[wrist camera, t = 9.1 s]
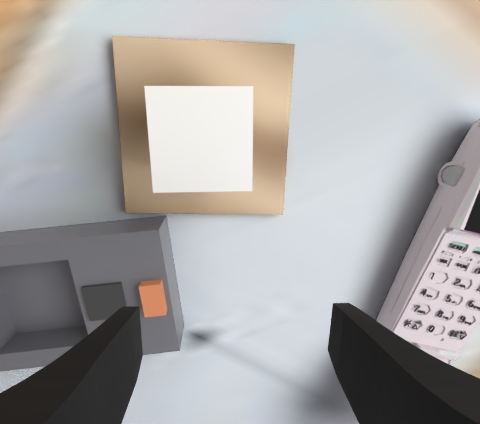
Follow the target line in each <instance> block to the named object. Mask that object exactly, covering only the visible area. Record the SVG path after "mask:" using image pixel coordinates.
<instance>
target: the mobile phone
mask: <svg viewBox="0 0 480 424" xmlns="http://www.w3.org/2000/svg"><path fill="white" fill-rule="evenodd" d="M437 178H438V182H439V186H438V188H437V190H436V192H435V194H434V196H433V198H432V200H431V202H430V205H429V207H428V209H427V211H426V213H425V215H424V217H423V219H422V221H421V223H420V225H419V227H418V230H417V232H416V234H415V236H414V238H413V240H412V242H411V244H410V246H409V248H408V250H407V252H406V255H405V257H404V259H403V261H402V263H401V266H400V268H399V270H398V272H397V275H396V277H395V279H394V281H393V283H392V286H391V288H390V290H389V292H388V295H387V297H386V299H385V301H384V304H383V306H382V308H381V310H380V312H379V315H378V317H377V319H376V321H377V322H379V323H380V324H382V325H383V326H385V327H386V328H388V329H389V330H391V331H392V332H394V333H395V334H397V335H398V336H400V337H401V338H403V339H405V340H406V341H408V342H409V343H411V344H413V345H415V346H416V347H418V348H420V349H421V350H423V351H425V352H426V353H428V354H430V355H432V356H434V357H436V358H438V359H439V360H441V361H443V362H445V363H447V364H449V365H451V360H453V361H456V360H457V359H458V358H459V357H460V356H459V353H460V351H461V350H462V348H463V346H464V345H465V343H466V342H467V340H468V338H469V337H470V335H471V334H472V332H473V330H474V329H475V327H476V326H477V324H478V322H479V321H480V120H478V121H476V122H475V123H474V124H473V125H472V127H471V128H470V130H469V132H468V133H467V135H466V137H465V138H464V140H463V142H462V143H461V145H460V147H459V149H458V150H457V152H456V154H455V156H454V157H453V159H452V161H451V162H448V163H445V164H444V165H443V166H442V167H441V169H440V171H439V174H438V177H437ZM448 360H449V363H448Z"/></svg>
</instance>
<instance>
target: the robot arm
mask: <svg viewBox="0 0 480 424" xmlns="http://www.w3.org/2000/svg"><path fill="white" fill-rule="evenodd" d="M328 351H329V354H330V358H331V361H332V364H333V367H334V370H335V373H336V375H337V378H338V380H339V382H340V384H341V386H342V388H343V390H344V393H345V395H346V397H347V399H348V401H349V403H350V405H351V407H352V409H353V411H354V414H355V416H356V418H357V420H358V422H359V424H480V379H479V378H477V377H475V376H472V375H470V374H468V373H466V372H464V371H461V370H459V369H457V368H455V367H453V366H451V365H449V364H447V363H445V362H443V361H441V360H439V359H438V358H436V357H434V356H432V355H430V354H428V353H426V352H425V351H423V350H421V349H420V348H418V347H416V346H415V345H413V344H411V343H409V342H408V341H406V340H405V339H403V338H401V337H400V336H398V335H397V334H395V333H394V332H392V331H391V330H389V329H388V328H386V327H385V326H383V325H382V324H380V323H379V322H377V321H376V320H374V319H373V318H371V317H370V316H368V315H367V314H365V313H364V312H362V311H361V310H359V309H358V308H356V307H355V306H353V305H351V304H350V303H333V309H332V318H331V327H330V336H329V344H328ZM142 355H143V349H142V336H141V322H140V309H139V306H128V307H121V308H120V309H119V310H117V311H116V312H115V313H114V314H113V315H111V316H110V317H109V318H108V319H107V320H106V321H104V322H103V323H102V324H101V325H100V326H98V327H97V328H96V329H95V330H94V331H92V332H91V333H90V334H89V335H88V336H86V337H85V338H84V339H83V340H81V341H80V342H79V343H77V344H76V345H75V346H73V347H72V348H71V349H69V350H68V351H67V352H65V353H64V354H63V355H61V356H60V357H59V358H57V359H56V360H54V361H53V362H51V363H50V364H48V365H47V366H46V367H44V368H42V369H41V370H39V371H38V372H36V373H35V374H33V375H31V376H30V377H28V378H26V379H25V380H23V381H21V382H20V383H18V384H16V385H14V386H12V387H11V388H9V389H7V390H5V391H3V392H2V393H0V424H121V423H122V420H123V417H124V415H125V412H126V409H127V406H128V404H129V401H130V398H131V395H132V393H133V390H134V387H135V384H136V381H137V377H138V373H139V369H140V364H141V360H142Z"/></svg>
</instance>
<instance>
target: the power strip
mask: <svg viewBox="0 0 480 424" xmlns="http://www.w3.org/2000/svg"><path fill="white" fill-rule="evenodd" d="M128 306H139V309H140V322H141V336H142V349H143V355H146V354H155V353H163V352H172V351H180V345H181V339H182V334H183V328H184V321H183V315H182V309H181V303H180V297H179V290H178V284H177V278H176V272H175V266H174V259H173V253H172V247H171V241H170V235H169V228H168V222H167V216H158V217H148V218H138V219H128V220H118V221H108V222H98V223H88V224H78V225H68V226H58V227H48V228H38V229H29V230H19V231H9V232H0V371H7V370H16V369H24V368H33V367H42V366H47V365H48V364H50V363H51V362H53V361H54V360H56V359H57V358H59V357H60V356H61V355H63V354H64V353H65V352H67V351H68V350H69V349H71V348H72V347H73V346H75V345H76V344H77V343H79V342H80V341H81V340H83V339H84V338H85V337H86V336H88V335H89V334H90V333H91V332H92V331H94V330H95V329H96V328H97V327H98V326H100V325H101V324H102V323H103V322H104V321H106V320H107V319H108V318H109V317H110V316H111V315H113V314H114V313H115V312H116V311H117V310H119V309H120V308H121V307H128Z"/></svg>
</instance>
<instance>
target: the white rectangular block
mask: <svg viewBox="0 0 480 424" xmlns="http://www.w3.org/2000/svg"><path fill="white" fill-rule="evenodd" d="M144 89H145V101H146V113H147V125H148V138H149V150H150V162H151V175H152V187H153V193H167V192H232V191H252V177H253V86H144Z"/></svg>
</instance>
